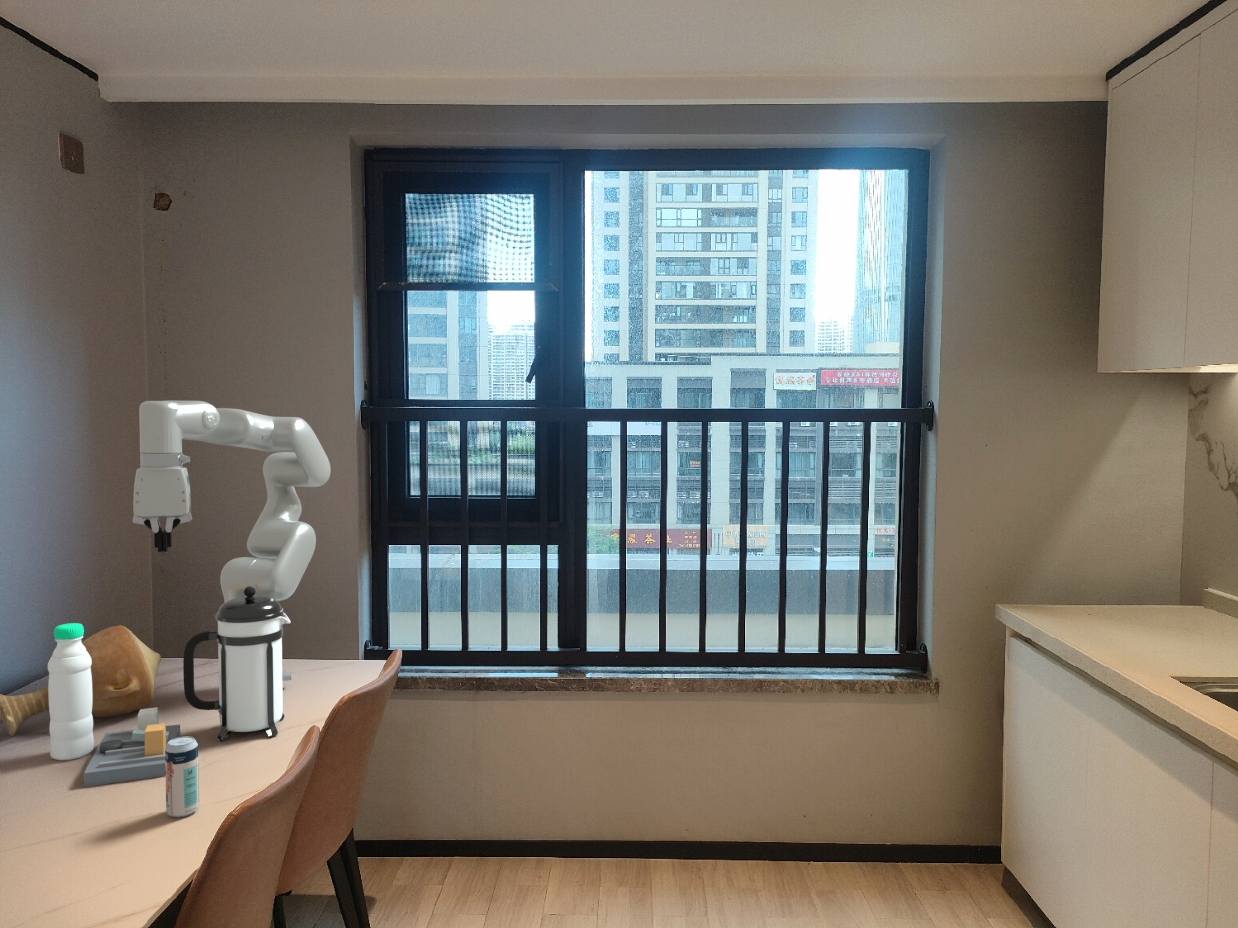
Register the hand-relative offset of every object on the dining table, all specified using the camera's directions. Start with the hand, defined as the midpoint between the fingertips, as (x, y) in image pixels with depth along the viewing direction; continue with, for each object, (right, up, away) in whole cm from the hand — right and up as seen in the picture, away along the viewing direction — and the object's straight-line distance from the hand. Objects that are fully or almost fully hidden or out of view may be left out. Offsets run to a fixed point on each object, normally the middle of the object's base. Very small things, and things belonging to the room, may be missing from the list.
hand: (163, 550), depth 172 cm
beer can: (+22, -40, -34) cm, 57 cm away
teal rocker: (+4, -34, -13) cm, 36 cm away
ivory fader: (+2, -35, -8) cm, 36 cm away
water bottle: (-11, -38, -11) cm, 41 cm away
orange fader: (+8, -36, -17) cm, 40 cm away
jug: (-21, -37, +7) cm, 43 cm away
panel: (+2, -38, -13) cm, 40 cm away
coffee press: (+16, -38, +1) cm, 41 cm away
